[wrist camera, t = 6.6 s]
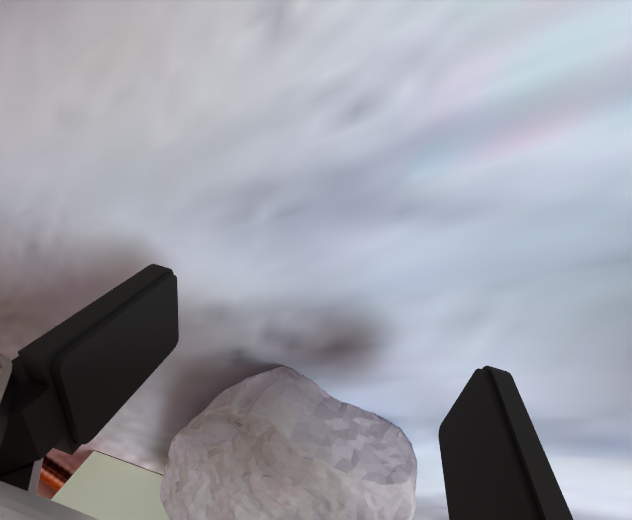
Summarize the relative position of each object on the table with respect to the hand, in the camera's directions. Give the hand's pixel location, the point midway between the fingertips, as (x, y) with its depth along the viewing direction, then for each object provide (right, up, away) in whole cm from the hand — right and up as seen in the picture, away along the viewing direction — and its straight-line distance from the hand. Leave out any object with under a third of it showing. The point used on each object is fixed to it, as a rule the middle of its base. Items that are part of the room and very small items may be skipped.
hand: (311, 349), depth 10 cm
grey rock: (-2, -7, +7) cm, 10 cm away
